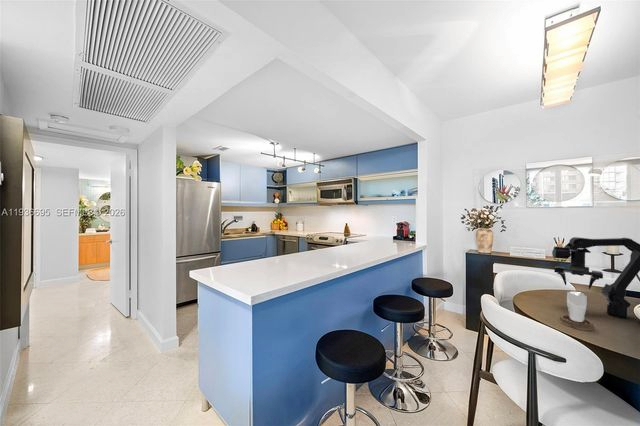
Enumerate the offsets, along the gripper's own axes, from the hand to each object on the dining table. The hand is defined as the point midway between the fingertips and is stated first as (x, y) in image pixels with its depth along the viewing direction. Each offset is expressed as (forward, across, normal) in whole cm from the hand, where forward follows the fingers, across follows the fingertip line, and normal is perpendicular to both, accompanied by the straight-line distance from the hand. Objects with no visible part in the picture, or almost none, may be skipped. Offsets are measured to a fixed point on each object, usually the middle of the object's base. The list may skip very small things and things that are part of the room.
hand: (577, 287), depth 139 cm
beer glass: (+13, 0, -25) cm, 28 cm away
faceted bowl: (+13, 0, -25) cm, 28 cm away
